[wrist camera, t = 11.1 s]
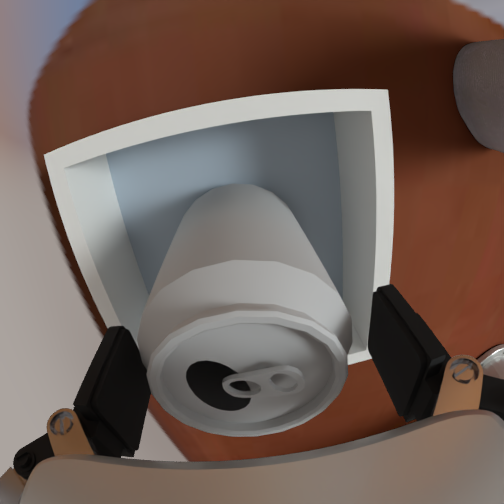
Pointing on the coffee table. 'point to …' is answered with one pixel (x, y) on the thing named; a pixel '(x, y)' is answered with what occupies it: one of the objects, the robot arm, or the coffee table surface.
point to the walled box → (234, 172)
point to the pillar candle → (481, 91)
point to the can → (243, 319)
